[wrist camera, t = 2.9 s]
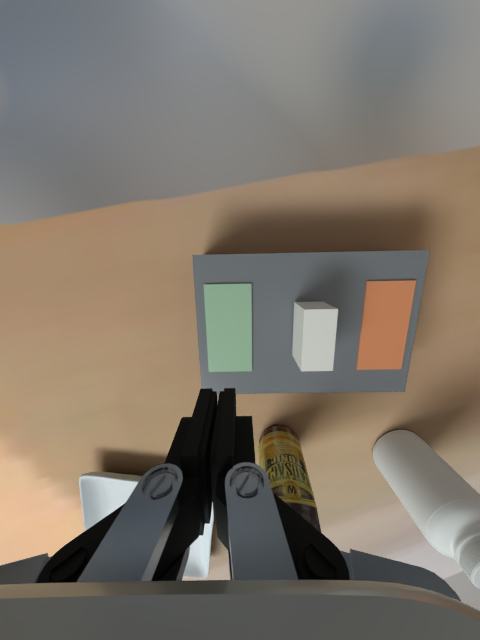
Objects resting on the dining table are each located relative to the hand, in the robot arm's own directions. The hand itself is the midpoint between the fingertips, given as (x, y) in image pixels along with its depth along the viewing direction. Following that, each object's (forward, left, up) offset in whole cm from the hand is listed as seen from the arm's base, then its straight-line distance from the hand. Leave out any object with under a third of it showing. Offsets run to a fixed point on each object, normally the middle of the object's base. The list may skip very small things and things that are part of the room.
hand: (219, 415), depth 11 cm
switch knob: (-8, 0, -14) cm, 17 cm away
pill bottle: (-25, +22, -21) cm, 39 cm away
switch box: (-8, 0, -21) cm, 22 cm away
